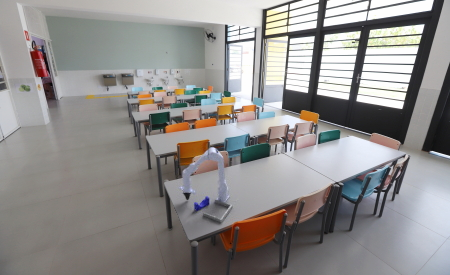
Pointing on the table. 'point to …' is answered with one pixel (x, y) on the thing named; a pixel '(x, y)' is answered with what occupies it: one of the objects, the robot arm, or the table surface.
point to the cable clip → (201, 204)
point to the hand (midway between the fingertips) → (187, 199)
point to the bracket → (223, 215)
